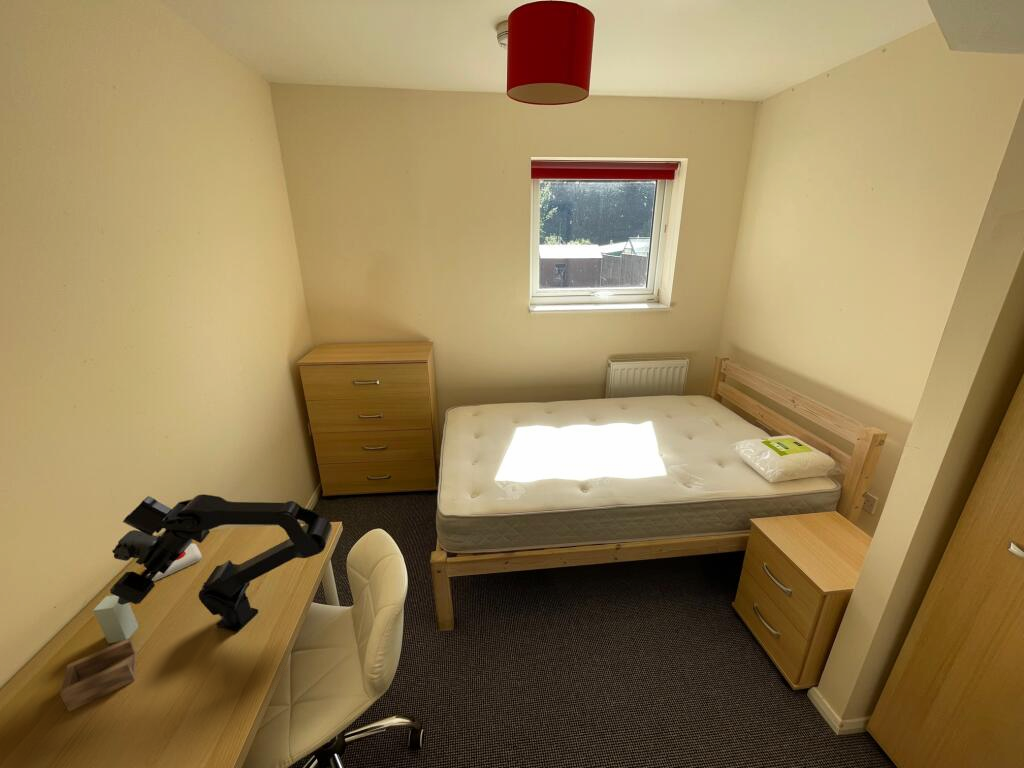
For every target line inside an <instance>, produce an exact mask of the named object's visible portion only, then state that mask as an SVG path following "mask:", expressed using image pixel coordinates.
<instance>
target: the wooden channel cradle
mask: <svg viewBox="0 0 1024 768" xmlns="http://www.w3.org/2000/svg"><path fill="white" fill-rule="evenodd" d="M134 646H135V645H134V644H133V641H132V640H131V638H128V639H126V640H124V641H121V642H116V643H115V644H112V645H110V646H107V647H106V648H103V649H101V650H98V651H96V652H94V653H92V654H90V655H87V656H85V657H82V658H80V659H77V660H75V661H72V662H71V663H68V664H67V665H66V670H65V674H64V677H63V682H62V686H61V690H60V694H59V695H60V697H61V700H62V701H63V703H64V705H65V707H66V709H67V710H68V712H69V713H70V712H72V711H74V710H76V709H78V708H80V707H83V706H84V705H86V704H89V703H91V702H93V701H95V700H97V699H99V698H101V697H103V696H106V695H108V694H109V693H112V692H114V691H116V690H118V689H121V688H122V687H124V686H126V685H128V684H131V683H134V681H135V678H136V677H135V676H136V668H137V666H136V665H137V651H136V649H135V647H134Z"/></svg>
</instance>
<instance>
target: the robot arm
mask: <svg viewBox="0 0 1024 768" xmlns="http://www.w3.org/2000/svg"><path fill="white" fill-rule="evenodd" d="M300 521H302V522H304V524H303V525H301V523H300ZM122 523H124V524H126V525H128V526H129V527H132V528H134V529H133V530H129V531H128V532H127V533H126V534H125V535H124V536H122V537H121V538H120V539H119V540H118V542H117V544H116V545H115V547H114V549H112V550H111V551H112V553H113V558H115V560H119V561H125V562H126V561H129V560H130V559H131V558H132V559H137V560H136V561H135V563H136V564H138V565H141V566H143V567H144V568H145V570H144V571H143V572H142V573H141V574H139V573H137V572H135V571H132V570H131V571H126V572H125V573H124V574H123V575H122V576H121V577H120V578H119V579H118V580H117V581H116V582H115V583H114V584H113V585H112V587H111V588H110V590H109V592H110V594H111V595H112V596H113V595H116V596H118V597H119V599H118V603H119V604H121V605H123V604H126V603H129V604H130V603H131V604H134V605H139V604H141V603H142V601H143V600H144V599H145V598H147V596H148V594H149V593H151V591H152V590H153V589H154V588H155V586H156V585H155V581H152V579H153V578H154V576H155V575H156V574H157V573H158V572H161V573H163V574H164V573H165V572H166V570H167V569H168V568H169V567H170V566H171V565H172V563H173V562H174V561H175V560H176V559H177V558H178V557H179V556H180V555H181V554H182V553H183V552H184V551H185V550H186V548H187V547H188V546H189V545H190V544H192V543H193V541H195V542H197V543H199V544H202V543H203V542H204V541H205V539H206V538H207V537H208V535H210V533H211V531H210V530H213V529H215V528H218V527H220V526H225V525H226V526H227V525H229V526H230V525H231V526H232V525H235V526H239V525H240V526H242V525H243V526H244V525H245V526H247V525H248V526H256V525H257V526H279V527H281V529H283V530H284V532H285V533H286V535H287V536H288V538H287V539H285V540H284V541H281V542H280V543H278V544H276V545H275V546H273V547H271V548H269V549H267V550H265V551H263V552H261V553H259V554H257V555H255V556H253V557H251V558H250V559H247V560H246V561H244V562H241V563H240V564H236V563H233V562H232V560H227V561H226V562H224V563H223V564H220V565H219V564H218V565H216V566H215V568H214V569H213V571H212V572H211V573H210V575H209V576H208V578H207V579H206V581H205V582H204V584H203V585H202V586H201V587H202V588H201V589H200V590H199V592H198V599H199V601H200V603H202V605H203V606H204V607H205V608H206V609H207V610H208V612H210V613H211V615H212V616H217V615H218V616H220V618H221V619H220V621H218V622H217V624H216V627H217V628H220V629H222V630H225V631H229V632H232V633H235V634H236V633H238V632H239V631H240V630H241V629H242V628H244V627H245V626H246V624H248V623H249V622H250V621H251V619H252V618H254V617H255V616H256V615H257V614H258V613H259V609H257V608H254V607H251V604H250V601H249V597H248V596H247V593H246V591H247V590H248V588H249V587H250V584H251V582H252V581H254V580H256V579H257V578H259V577H261V576H264V575H265V574H267V573H269V572H271V571H273V570H275V569H277V568H279V567H280V566H282V565H284V564H286V563H288V562H291V561H292V560H294V559H308V558H312V557H313V556H317V555H319V554H321V553H322V552H323V551H324V550H325V549H326V546H327V543H328V540H329V538H330V536H331V533H332V530H333V527H332V526H333V525H332V523H331V522H330V521H329V520H328V519H327V518H324V517H323V516H321V514H319V513H317V512H316V511H315V510H312V509H309V508H306V507H303V506H302V505H300V504H299V503H297V502H296V501H295V500H294V501H293V500H289V501H288V500H287V502H262V501H261V502H256V501H252V502H251V501H250V502H249V501H229V500H227V499H225V498H223V497H221V496H217V495H211V494H197V495H196V496H194V497H193V498H192V499H191V498H190V499H186V500H181V501H179V502H177V504H176V505H174V506H173V508H171V507H169V506H168V505H165V504H163V503H161V502H159V501H158V500H157V499H155V498H153V497H152V496H149V495H148V496H146V497H145V499H143V500H142V501H141V502H140V503H139V505H137V507H135V508H134V509H133V510H132V511H130V512H129V514H128V515H126V517H125V518H124V519H123V521H122ZM163 529H164V531H163V532H161V531H162V530H163ZM160 532H161V533H160ZM155 533H156V534H159V533H160V534H159V535H158V536H157V535H154V534H155ZM148 574H150V575H149V576H148Z"/></svg>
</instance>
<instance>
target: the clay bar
mask: <svg viewBox="0 0 1024 768" xmlns="http://www.w3.org/2000/svg"><path fill="white" fill-rule="evenodd" d="M118 599H119V597H118V596H116V595H113V594H112V595H107V596H104V598H103V599H102V600H101V601H100V602H99V603H98V604H97V606H95V608H94V609H93V610H92V611H93V613H94V615H95V618H96V620H97V622H98V624H99V627H100V629H101V630H102V633H103V636H104V637H105V639H106V641H107V644H112V643H119V642H121V641H124V640H126V639H128V638H130V637H131V636H132V635H133V634H134V633H135V631H137V629H138V628H139V624H138V621H137V619H136V616H135V614H134V611H133V609H132V607H131V604H130V602H129V603H126V604H123V605H121V604H119V603H118ZM130 639H131V638H130Z"/></svg>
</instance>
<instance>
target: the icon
mask: <svg viewBox="0 0 1024 768" xmlns="http://www.w3.org/2000/svg"><path fill="white" fill-rule="evenodd" d="M201 560H202V553H201V551H200V549H199V547H198V546H197V544H196V543H193V542H192V543H191V544H190V545H189V546H188V547H187V548H186V550H185V551H184V552H183V553H182V554H181V555H180V556H179V557H178V558H177V559H176V560H175V561H174V562H173V563H172V565H171V566H170V567H169V568H168V569H167V570H166V572H165V573H164V574H163V573H161V572H158V573H157V574H156V575H155V576H154V578H153V579H152V581H153V582H156V581H159V580H161V579H163V578H165V577H167V576H170V575H172V574H174V573H176V572H179V571H181V570H182V569H185V568H187V567H189V566H190V567H191V566H192V565H194V564H197V563H198V562H200V561H201ZM149 575H150V574H148V575H147V577H148V576H149Z"/></svg>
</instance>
